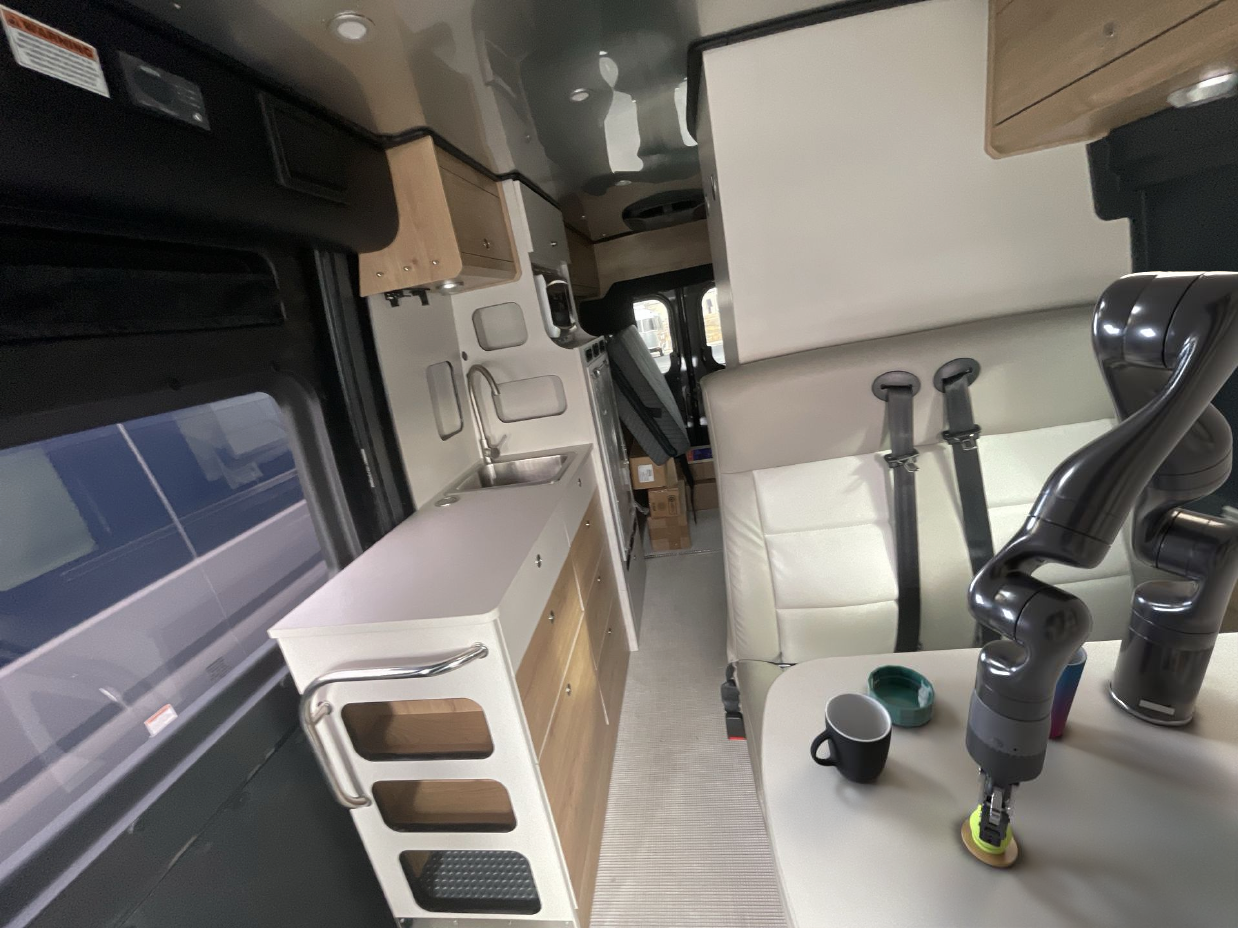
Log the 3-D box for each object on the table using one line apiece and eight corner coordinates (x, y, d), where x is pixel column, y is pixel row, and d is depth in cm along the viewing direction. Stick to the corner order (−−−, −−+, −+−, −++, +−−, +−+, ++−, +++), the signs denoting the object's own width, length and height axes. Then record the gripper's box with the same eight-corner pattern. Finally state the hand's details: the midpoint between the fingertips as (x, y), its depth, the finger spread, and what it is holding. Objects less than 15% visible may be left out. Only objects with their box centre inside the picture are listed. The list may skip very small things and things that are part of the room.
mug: (865, 733, 86) (866, 685, 82) (903, 781, 78) (906, 731, 74) (796, 753, 85) (795, 706, 81) (828, 805, 76) (827, 755, 73)
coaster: (964, 811, 73) (964, 808, 73) (1018, 834, 69) (1019, 831, 69) (958, 850, 69) (958, 847, 68) (1015, 876, 65) (1016, 873, 65)
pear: (970, 816, 72) (975, 777, 69) (1010, 833, 69) (1017, 793, 66) (966, 845, 68) (971, 805, 66) (1008, 864, 66) (1015, 823, 63)
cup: (1080, 744, 79) (1098, 665, 74) (1028, 741, 81) (1041, 664, 75) (1055, 707, 85) (1070, 632, 80) (1007, 705, 87) (1018, 632, 81)
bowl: (875, 675, 97) (876, 658, 95) (937, 695, 91) (939, 677, 89) (861, 713, 90) (861, 695, 88) (927, 737, 84) (928, 719, 82)
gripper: (1047, 791, 54) (1025, 896, 60) (1049, 695, 64) (1030, 794, 71) (960, 758, 59) (948, 859, 65) (975, 674, 69) (963, 768, 75)
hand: (991, 824), depth 68 cm, fingers closed on pear, 4 cm apart
